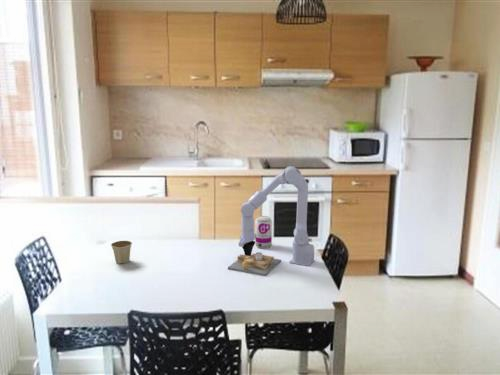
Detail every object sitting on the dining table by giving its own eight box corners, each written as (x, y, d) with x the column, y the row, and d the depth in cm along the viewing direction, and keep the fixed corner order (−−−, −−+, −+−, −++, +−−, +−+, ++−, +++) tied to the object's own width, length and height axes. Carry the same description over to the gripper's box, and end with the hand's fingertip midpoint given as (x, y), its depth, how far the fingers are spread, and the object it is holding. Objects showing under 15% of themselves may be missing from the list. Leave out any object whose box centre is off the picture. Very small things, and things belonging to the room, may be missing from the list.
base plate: (281, 261, 198) (281, 249, 197) (265, 276, 182) (265, 262, 181) (245, 255, 206) (245, 243, 205) (227, 269, 190) (227, 256, 189)
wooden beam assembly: (273, 261, 195) (273, 256, 195) (264, 269, 187) (264, 264, 186) (244, 256, 202) (244, 251, 201) (234, 264, 193) (233, 259, 193)
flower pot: (136, 258, 205) (135, 240, 203) (128, 265, 196) (127, 247, 194) (117, 257, 206) (115, 240, 204) (108, 265, 196) (107, 246, 195)
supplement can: (271, 249, 215) (271, 220, 212) (255, 249, 215) (255, 220, 212) (271, 243, 223) (271, 215, 220) (255, 243, 223) (255, 215, 220)
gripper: (247, 223, 205) (247, 250, 207) (232, 231, 192) (232, 260, 195) (260, 225, 202) (260, 252, 204) (246, 233, 189) (246, 263, 192)
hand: (248, 256), depth 199 cm, fingers closed
